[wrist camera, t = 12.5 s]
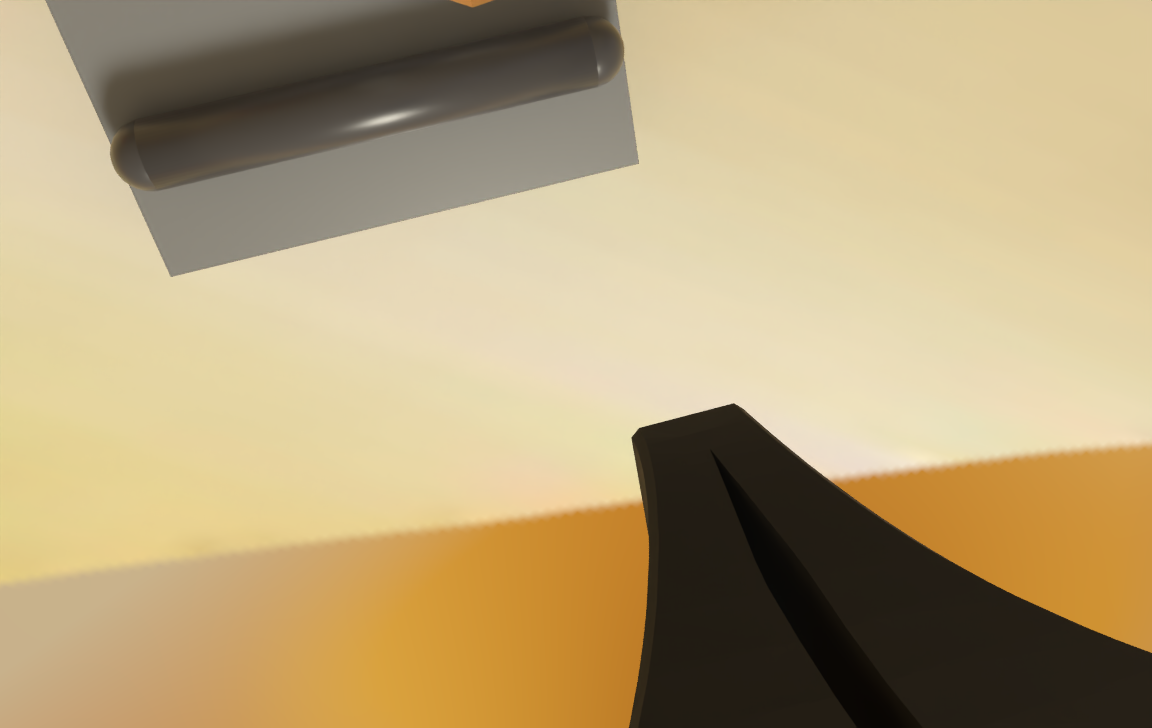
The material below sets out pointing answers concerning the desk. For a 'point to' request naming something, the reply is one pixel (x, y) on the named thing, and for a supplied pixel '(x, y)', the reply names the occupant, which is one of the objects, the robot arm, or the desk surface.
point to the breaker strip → (342, 110)
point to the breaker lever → (472, 2)
